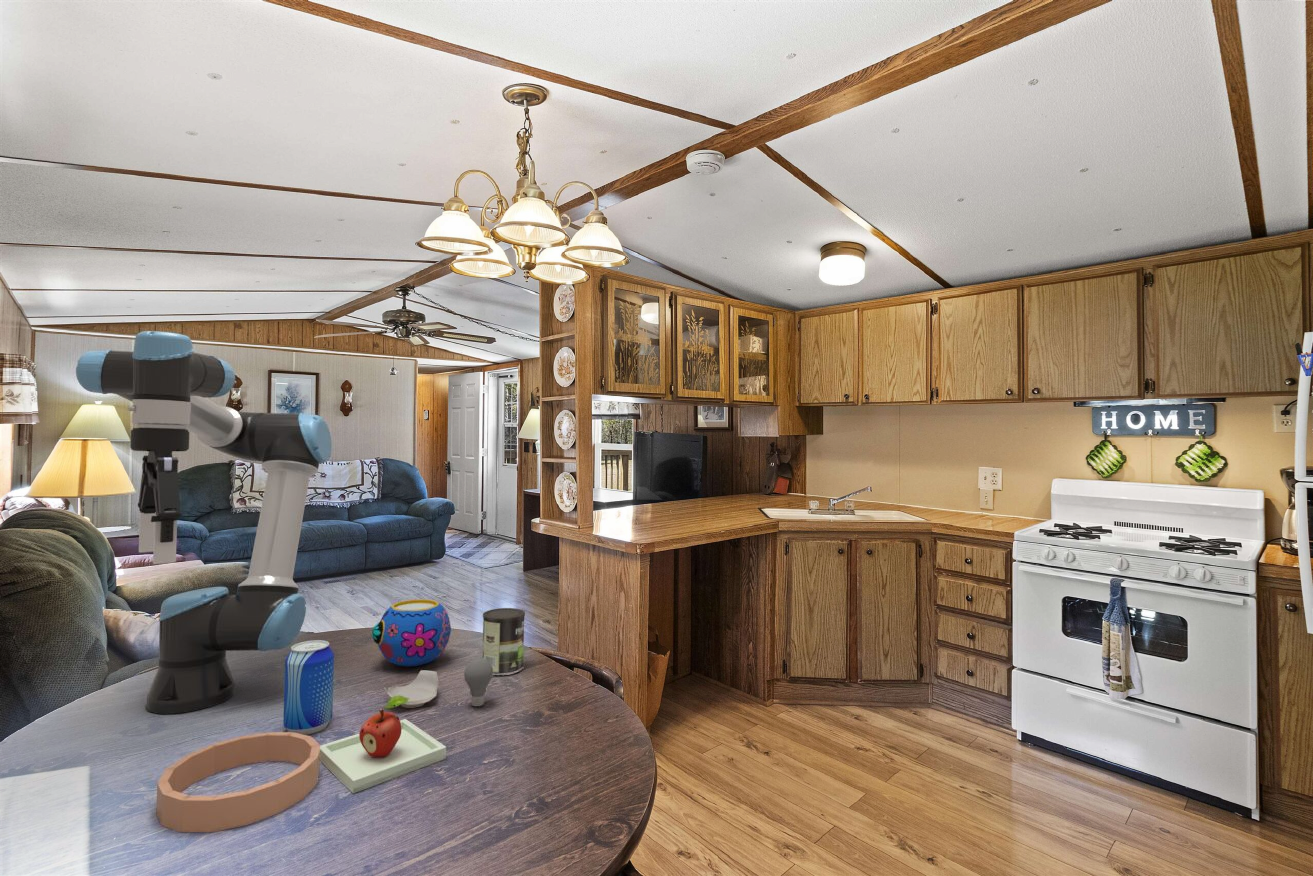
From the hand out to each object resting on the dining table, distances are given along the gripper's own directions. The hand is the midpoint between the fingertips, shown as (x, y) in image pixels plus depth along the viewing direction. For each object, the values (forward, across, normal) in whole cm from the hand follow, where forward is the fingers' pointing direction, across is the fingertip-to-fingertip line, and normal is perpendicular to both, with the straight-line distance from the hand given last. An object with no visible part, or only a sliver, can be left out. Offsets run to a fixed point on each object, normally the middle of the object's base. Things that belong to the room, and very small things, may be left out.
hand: (156, 557), depth 101 cm
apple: (+36, +18, +30) cm, 50 cm away
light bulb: (+37, +10, +54) cm, 66 cm away
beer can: (+37, -4, +25) cm, 45 cm away
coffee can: (+37, -5, +70) cm, 79 cm away
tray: (+37, +18, +30) cm, 51 cm away
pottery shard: (+37, -1, +45) cm, 58 cm away
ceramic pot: (+37, -24, +56) cm, 71 cm away
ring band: (+37, +13, +10) cm, 40 cm away
